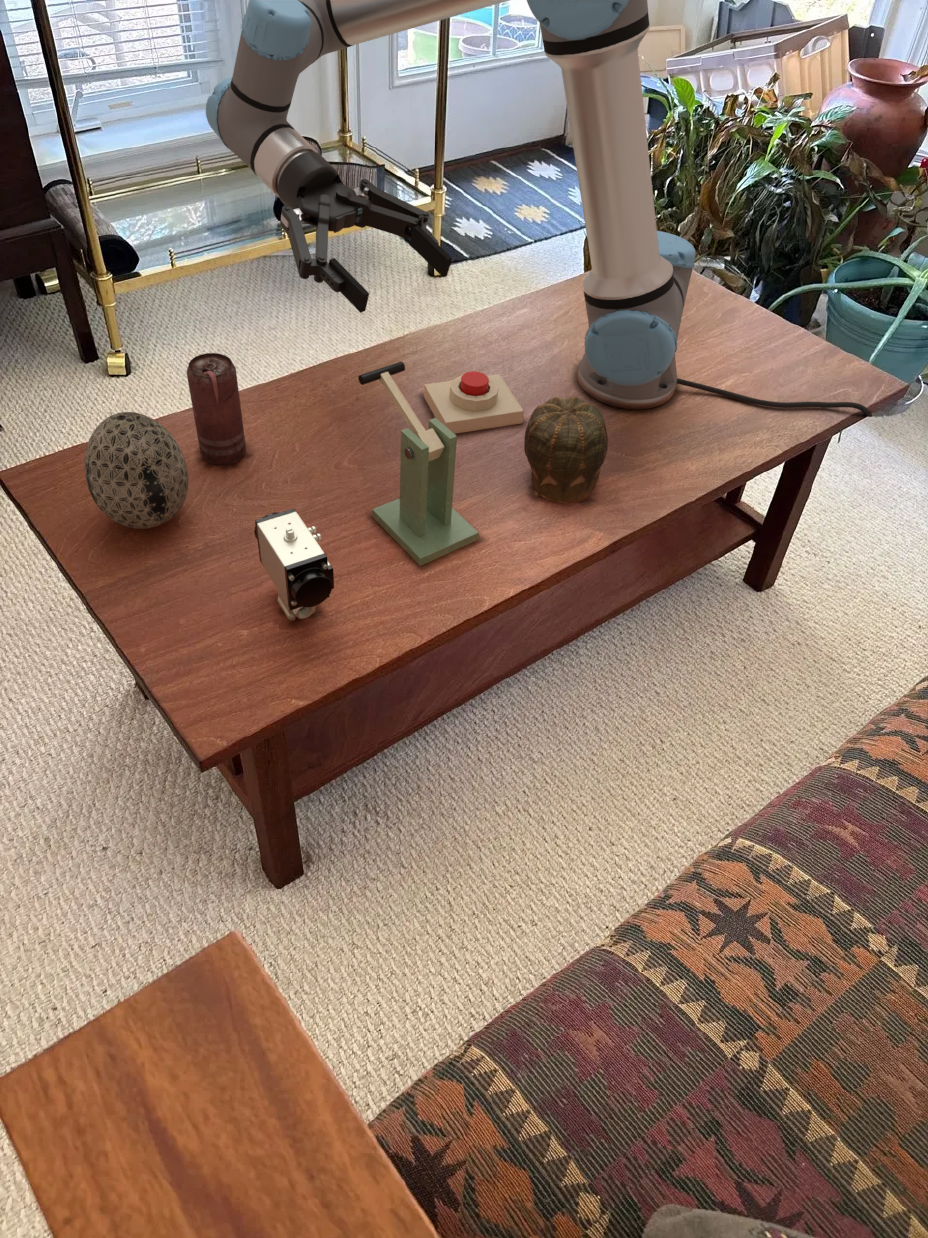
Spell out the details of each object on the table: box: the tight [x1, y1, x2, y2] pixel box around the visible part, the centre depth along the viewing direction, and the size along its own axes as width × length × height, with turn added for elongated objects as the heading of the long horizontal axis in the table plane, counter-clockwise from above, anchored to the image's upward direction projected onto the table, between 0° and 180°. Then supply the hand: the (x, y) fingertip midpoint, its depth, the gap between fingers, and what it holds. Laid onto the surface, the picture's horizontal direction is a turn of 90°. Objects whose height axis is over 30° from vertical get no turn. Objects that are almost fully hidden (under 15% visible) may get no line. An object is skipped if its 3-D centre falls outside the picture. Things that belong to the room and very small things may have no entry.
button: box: [461, 370, 489, 396], centre depth 137 cm, size 4×4×2 cm
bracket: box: [371, 417, 480, 567], centre depth 116 cm, size 11×9×15 cm
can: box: [186, 352, 247, 467], centre depth 125 cm, size 6×6×14 cm
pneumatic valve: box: [253, 508, 335, 621], centre depth 107 cm, size 6×12×12 cm, turn 30°
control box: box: [423, 373, 525, 435], centre depth 139 cm, size 12×10×4 cm
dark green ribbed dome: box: [523, 395, 609, 504], centre depth 126 cm, size 11×11×12 cm
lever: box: [358, 361, 444, 462], centre depth 113 cm, size 13×6×2 cm, turn 36°
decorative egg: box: [84, 411, 190, 530], centre depth 114 cm, size 12×12×15 cm
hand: (407, 285), depth 115 cm, fingers open, 13 cm apart
